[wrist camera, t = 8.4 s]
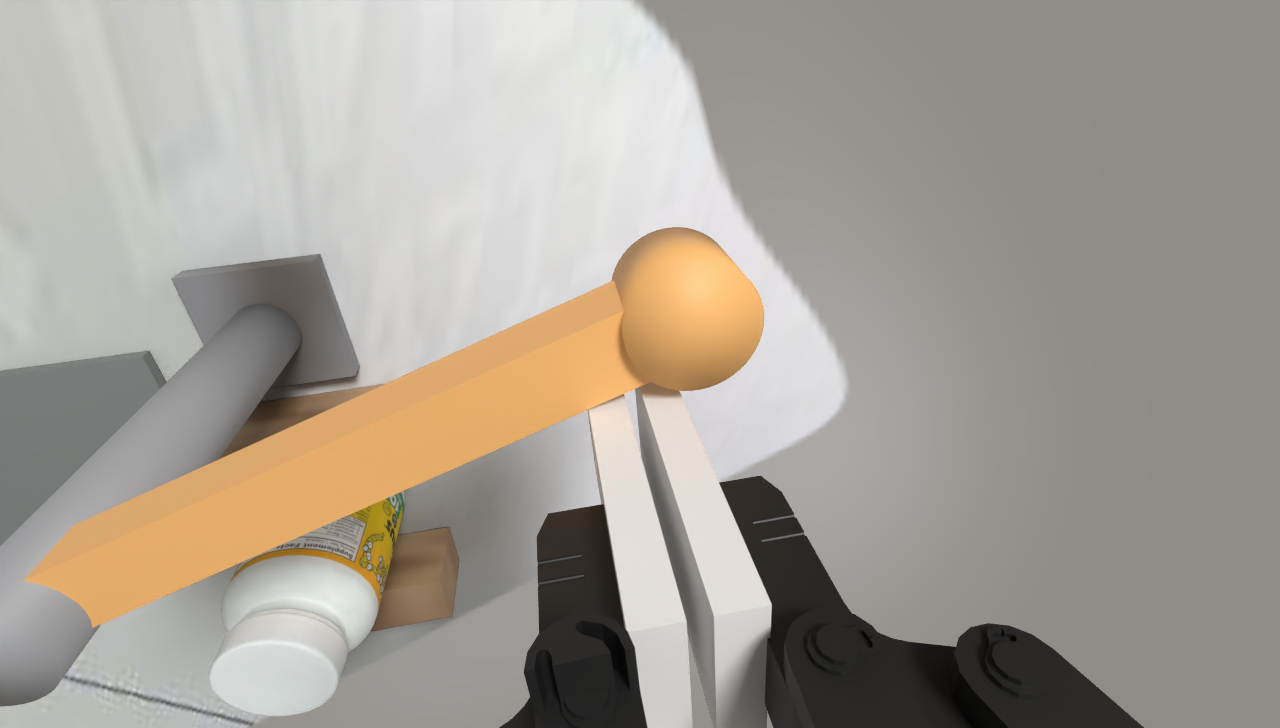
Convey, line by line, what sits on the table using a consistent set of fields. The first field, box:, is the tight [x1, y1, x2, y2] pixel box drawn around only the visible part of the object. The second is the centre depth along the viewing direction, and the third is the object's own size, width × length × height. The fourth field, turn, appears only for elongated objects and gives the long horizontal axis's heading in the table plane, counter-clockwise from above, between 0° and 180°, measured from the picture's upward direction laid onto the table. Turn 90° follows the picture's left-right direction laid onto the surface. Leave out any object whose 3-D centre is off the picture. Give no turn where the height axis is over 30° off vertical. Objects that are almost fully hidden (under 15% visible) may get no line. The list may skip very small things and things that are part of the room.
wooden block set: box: [172, 254, 459, 632], centre depth 26 cm, size 8×17×4 cm, turn 5°
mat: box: [0, 351, 166, 546], centre depth 26 cm, size 10×10×1 cm
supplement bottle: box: [209, 491, 405, 716], centre depth 25 cm, size 5×5×10 cm
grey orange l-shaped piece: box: [0, 227, 764, 706], centre depth 17 cm, size 3×17×14 cm, turn 112°
